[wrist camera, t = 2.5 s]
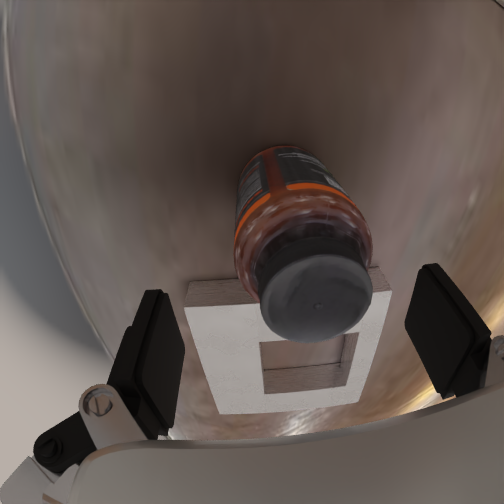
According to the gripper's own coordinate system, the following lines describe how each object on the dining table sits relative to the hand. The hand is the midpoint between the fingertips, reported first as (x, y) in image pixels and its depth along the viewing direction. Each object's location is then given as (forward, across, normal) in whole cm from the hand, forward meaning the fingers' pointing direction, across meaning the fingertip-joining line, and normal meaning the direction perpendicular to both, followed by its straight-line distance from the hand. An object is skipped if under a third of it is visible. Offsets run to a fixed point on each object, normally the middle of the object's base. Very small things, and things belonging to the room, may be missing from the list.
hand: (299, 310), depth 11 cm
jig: (+11, -1, +14) cm, 18 cm away
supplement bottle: (+11, -1, -1) cm, 11 cm away
